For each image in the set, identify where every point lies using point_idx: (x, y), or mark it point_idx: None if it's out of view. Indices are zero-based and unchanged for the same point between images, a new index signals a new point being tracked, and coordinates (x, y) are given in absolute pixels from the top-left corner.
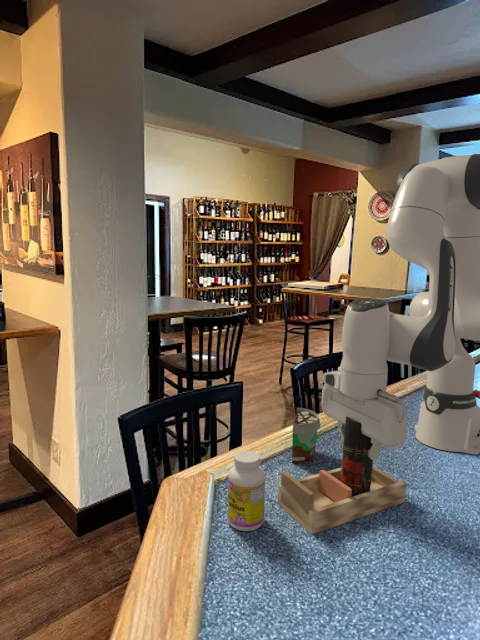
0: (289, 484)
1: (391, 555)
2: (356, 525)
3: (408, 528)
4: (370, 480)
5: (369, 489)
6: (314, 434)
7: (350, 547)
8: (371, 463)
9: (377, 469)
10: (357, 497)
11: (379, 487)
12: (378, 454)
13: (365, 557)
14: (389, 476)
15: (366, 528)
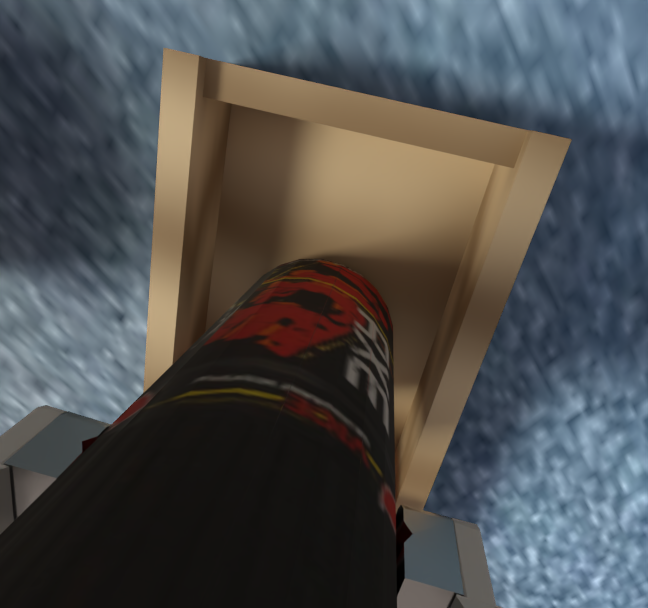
0: None
1: (637, 525)
2: (445, 463)
3: (635, 343)
4: (391, 354)
5: (391, 333)
6: None
7: (497, 566)
8: (394, 438)
9: (287, 85)
10: (418, 491)
11: (365, 159)
12: (484, 555)
13: (563, 577)
14: (408, 114)
15: (485, 455)
